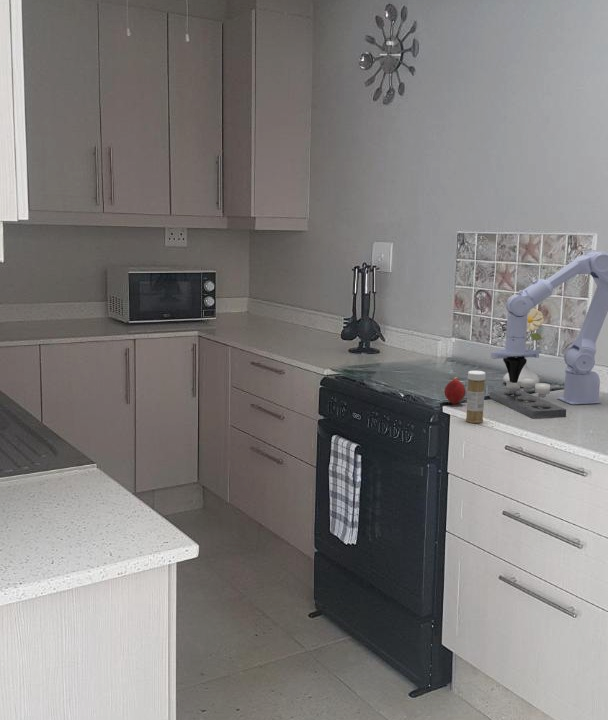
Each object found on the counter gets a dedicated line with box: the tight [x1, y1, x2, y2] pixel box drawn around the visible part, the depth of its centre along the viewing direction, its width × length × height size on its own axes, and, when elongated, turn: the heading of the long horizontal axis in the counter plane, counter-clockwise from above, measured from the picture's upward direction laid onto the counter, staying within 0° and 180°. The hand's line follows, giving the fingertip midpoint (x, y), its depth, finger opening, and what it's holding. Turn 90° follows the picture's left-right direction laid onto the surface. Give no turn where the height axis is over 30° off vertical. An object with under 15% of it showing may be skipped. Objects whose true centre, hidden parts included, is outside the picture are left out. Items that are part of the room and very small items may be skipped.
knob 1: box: [505, 381, 521, 394], centre depth 244 cm, size 4×4×3 cm
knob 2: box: [534, 382, 551, 399], centre depth 229 cm, size 4×4×3 cm
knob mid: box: [520, 377, 535, 392], centre depth 236 cm, size 4×4×3 cm
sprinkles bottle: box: [465, 370, 486, 424], centre depth 219 cm, size 5×5×13 cm
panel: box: [489, 389, 567, 419], centre depth 237 cm, size 10×25×2 cm, turn 15°
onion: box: [444, 376, 466, 405], centre depth 239 cm, size 6×6×8 cm
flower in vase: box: [502, 307, 545, 384], centre depth 264 cm, size 13×11×25 cm
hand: (513, 382), depth 244 cm, fingers closed, pressing on knob 1
